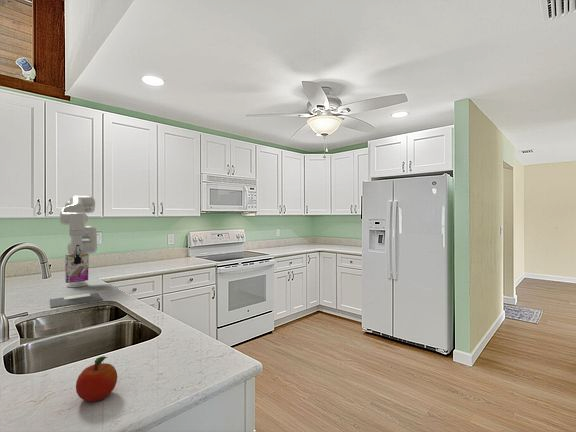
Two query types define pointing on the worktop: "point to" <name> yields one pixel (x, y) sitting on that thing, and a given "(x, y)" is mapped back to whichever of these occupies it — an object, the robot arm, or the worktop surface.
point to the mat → (74, 300)
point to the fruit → (96, 381)
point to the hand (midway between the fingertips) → (77, 263)
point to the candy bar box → (76, 268)
